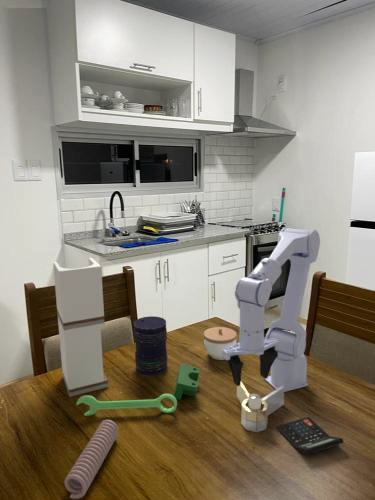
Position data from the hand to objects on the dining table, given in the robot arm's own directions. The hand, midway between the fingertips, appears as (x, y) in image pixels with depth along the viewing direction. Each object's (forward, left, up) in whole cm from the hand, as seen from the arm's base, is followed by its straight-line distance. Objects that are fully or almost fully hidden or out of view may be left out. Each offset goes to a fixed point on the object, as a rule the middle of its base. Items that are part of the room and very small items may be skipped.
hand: (250, 380), depth 93 cm
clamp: (+11, -16, -10) cm, 21 cm away
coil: (+38, +2, -10) cm, 40 cm away
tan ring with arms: (-3, -1, -9) cm, 10 cm away
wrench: (+28, -12, -10) cm, 32 cm away
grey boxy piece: (+36, -31, -10) cm, 49 cm away
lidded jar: (-7, -30, -10) cm, 33 cm away
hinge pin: (+1, +4, -9) cm, 10 cm away
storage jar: (+16, -31, -10) cm, 36 cm away
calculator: (-7, +13, -10) cm, 18 cm away
